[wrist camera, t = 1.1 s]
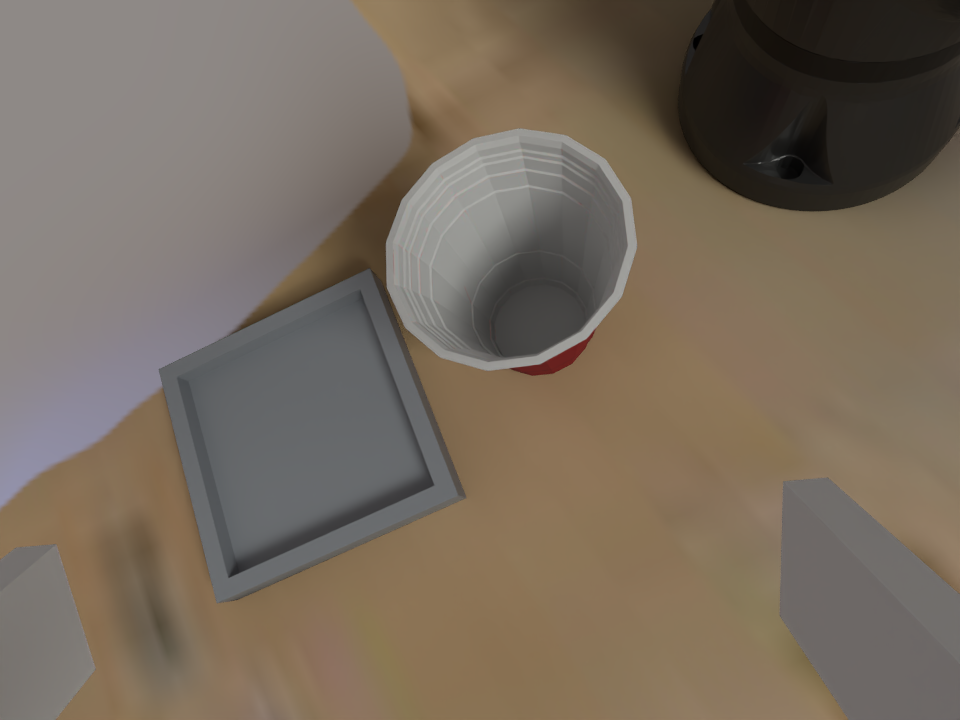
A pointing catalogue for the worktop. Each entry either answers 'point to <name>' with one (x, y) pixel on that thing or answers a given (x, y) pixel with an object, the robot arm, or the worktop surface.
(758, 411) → the worktop surface
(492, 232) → the plastic cup
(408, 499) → the tray
